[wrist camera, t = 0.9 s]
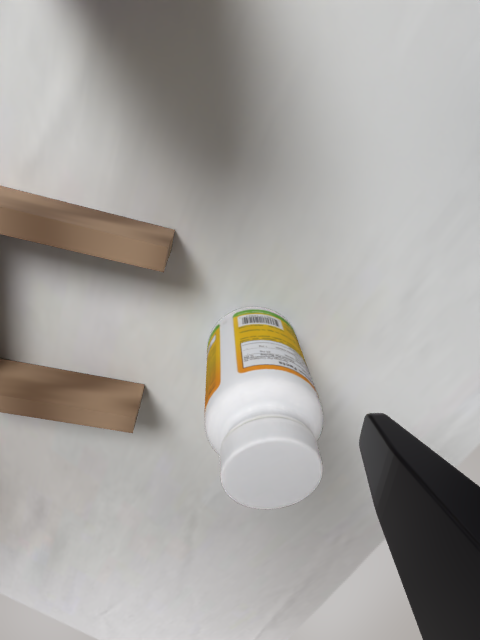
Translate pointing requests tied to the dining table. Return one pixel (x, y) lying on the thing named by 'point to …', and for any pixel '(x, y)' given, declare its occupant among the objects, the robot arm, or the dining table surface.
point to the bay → (93, 239)
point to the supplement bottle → (262, 410)
